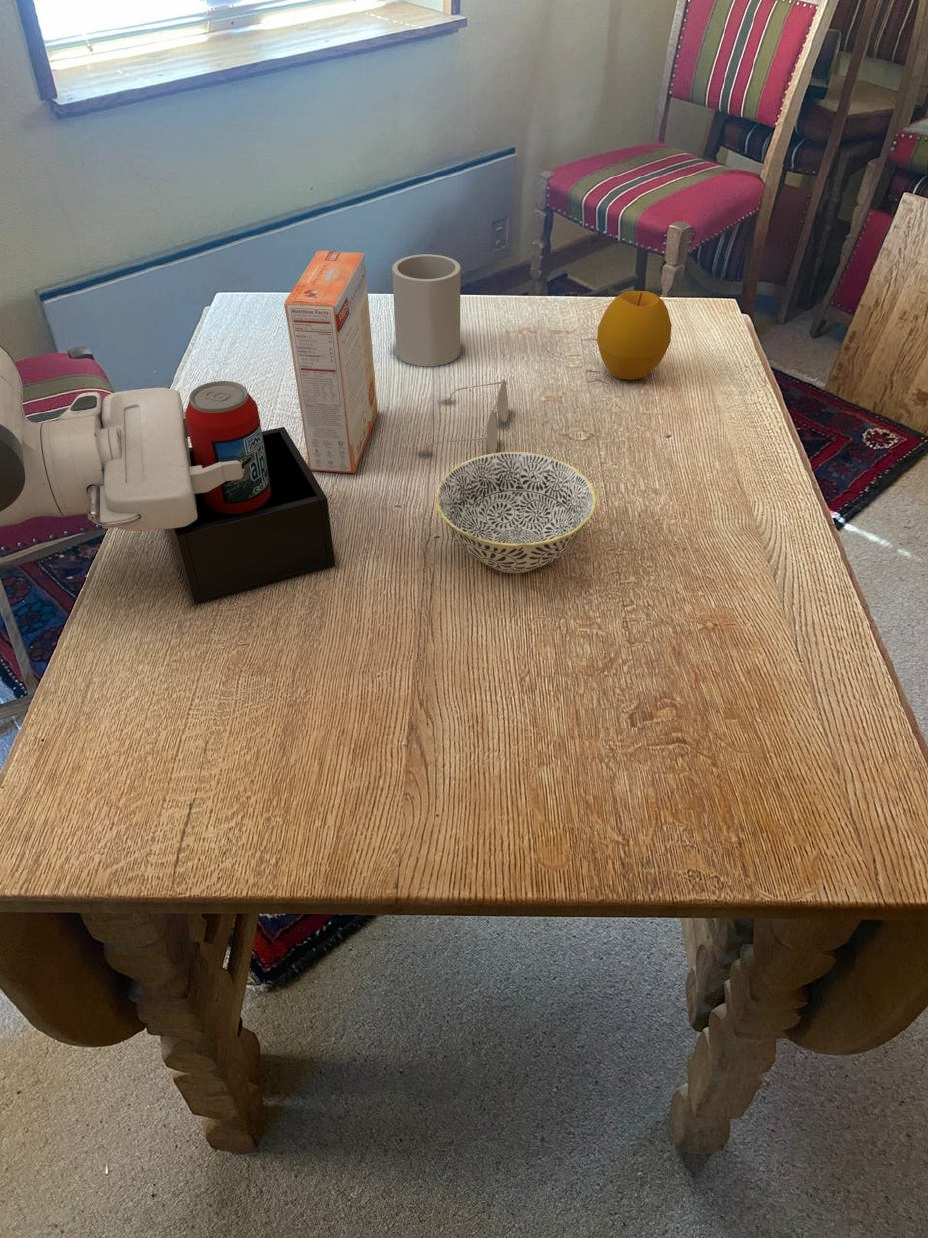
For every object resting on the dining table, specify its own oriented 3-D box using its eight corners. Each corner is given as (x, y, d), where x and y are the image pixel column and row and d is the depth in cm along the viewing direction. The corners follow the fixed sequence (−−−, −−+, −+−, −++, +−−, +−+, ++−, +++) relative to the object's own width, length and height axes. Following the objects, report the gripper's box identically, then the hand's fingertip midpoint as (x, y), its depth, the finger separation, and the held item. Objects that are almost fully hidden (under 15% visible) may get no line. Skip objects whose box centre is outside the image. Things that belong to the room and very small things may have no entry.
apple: (619, 400, 119) (631, 314, 111) (577, 369, 125) (586, 286, 117) (678, 382, 123) (693, 298, 115) (634, 353, 129) (646, 271, 121)
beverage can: (251, 526, 89) (231, 418, 81) (192, 512, 91) (166, 404, 83) (284, 490, 94) (268, 384, 86) (227, 477, 95) (206, 372, 87)
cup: (459, 366, 126) (459, 281, 118) (394, 365, 126) (390, 280, 118) (460, 337, 132) (460, 254, 124) (398, 336, 133) (394, 253, 124)
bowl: (477, 621, 88) (478, 561, 83) (413, 531, 98) (411, 472, 93) (617, 576, 93) (626, 517, 88) (542, 495, 103) (546, 437, 98)
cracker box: (333, 411, 117) (316, 247, 102) (379, 415, 116) (368, 250, 102) (304, 472, 107) (280, 298, 92) (354, 476, 106) (338, 302, 92)
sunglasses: (491, 465, 108) (485, 428, 104) (424, 466, 110) (416, 430, 107) (511, 407, 118) (506, 372, 114) (449, 409, 120) (442, 375, 117)
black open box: (194, 605, 89) (176, 536, 83) (165, 524, 99) (146, 456, 93) (335, 566, 94) (327, 497, 88) (294, 492, 103) (284, 426, 98)
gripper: (76, 499, 76) (243, 474, 79) (81, 384, 90) (222, 367, 93) (96, 558, 80) (254, 532, 83) (97, 439, 94) (232, 421, 97)
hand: (237, 444), depth 88 cm, fingers closed on beverage can, 7 cm apart
